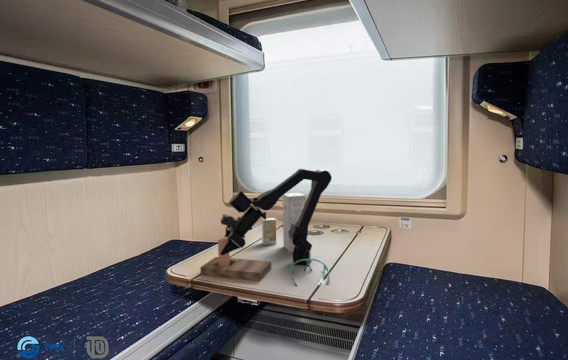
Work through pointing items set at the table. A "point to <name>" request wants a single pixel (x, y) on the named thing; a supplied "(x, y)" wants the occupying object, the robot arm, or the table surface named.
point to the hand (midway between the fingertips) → (220, 250)
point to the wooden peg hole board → (237, 269)
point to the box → (291, 215)
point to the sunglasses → (309, 267)
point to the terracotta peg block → (224, 259)
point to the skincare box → (269, 231)
